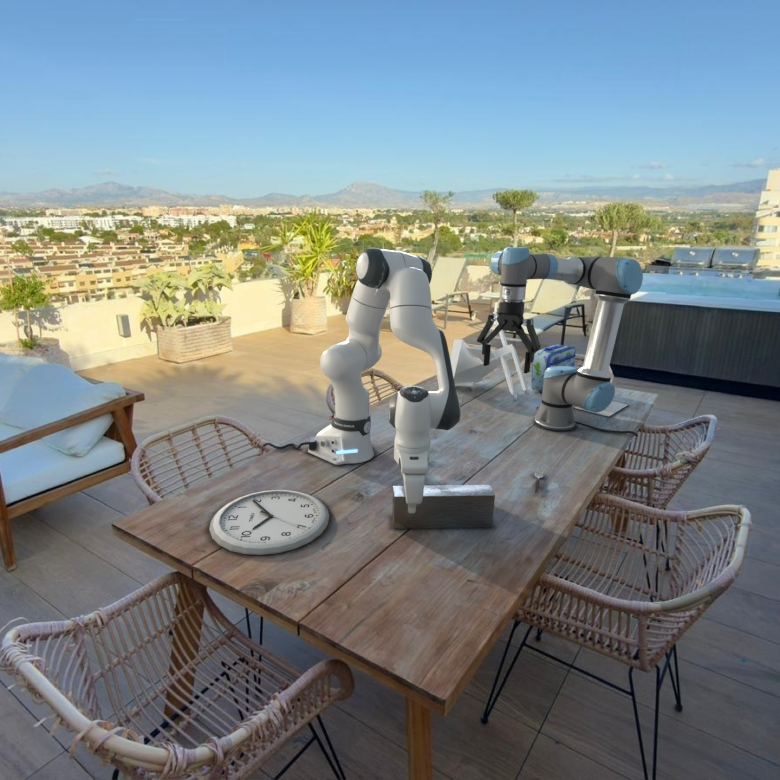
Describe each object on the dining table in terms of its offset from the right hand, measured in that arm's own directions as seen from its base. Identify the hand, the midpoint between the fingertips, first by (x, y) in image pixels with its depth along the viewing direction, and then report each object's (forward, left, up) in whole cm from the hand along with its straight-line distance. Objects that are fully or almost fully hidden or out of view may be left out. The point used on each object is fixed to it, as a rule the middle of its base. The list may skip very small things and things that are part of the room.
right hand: (506, 368), depth 163 cm
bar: (+18, +41, -31) cm, 55 cm away
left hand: (+26, +43, -25) cm, 56 cm away
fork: (-11, +15, -31) cm, 36 cm away
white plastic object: (+3, -74, -31) cm, 80 cm away
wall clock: (+61, +47, -31) cm, 83 cm away
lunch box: (-32, -85, -31) cm, 96 cm away
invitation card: (-49, -62, -31) cm, 85 cm away
